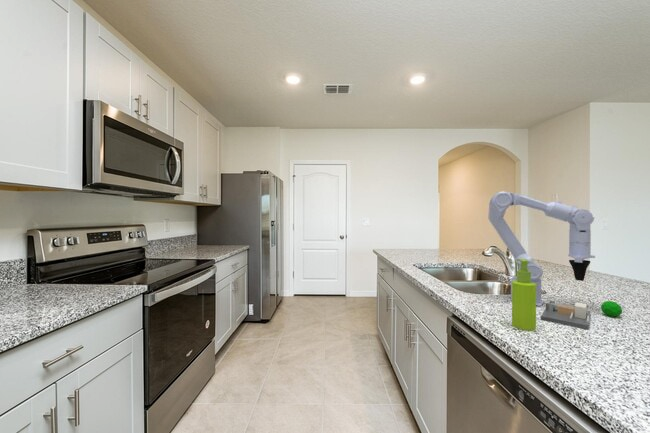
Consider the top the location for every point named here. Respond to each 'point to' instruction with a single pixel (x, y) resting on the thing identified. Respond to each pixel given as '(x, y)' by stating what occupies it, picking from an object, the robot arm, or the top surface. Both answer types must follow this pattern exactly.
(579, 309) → the latch
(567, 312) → the mount board
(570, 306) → the grey flat bar
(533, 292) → the soap dispenser
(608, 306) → the polyhedron
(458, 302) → the top surface
